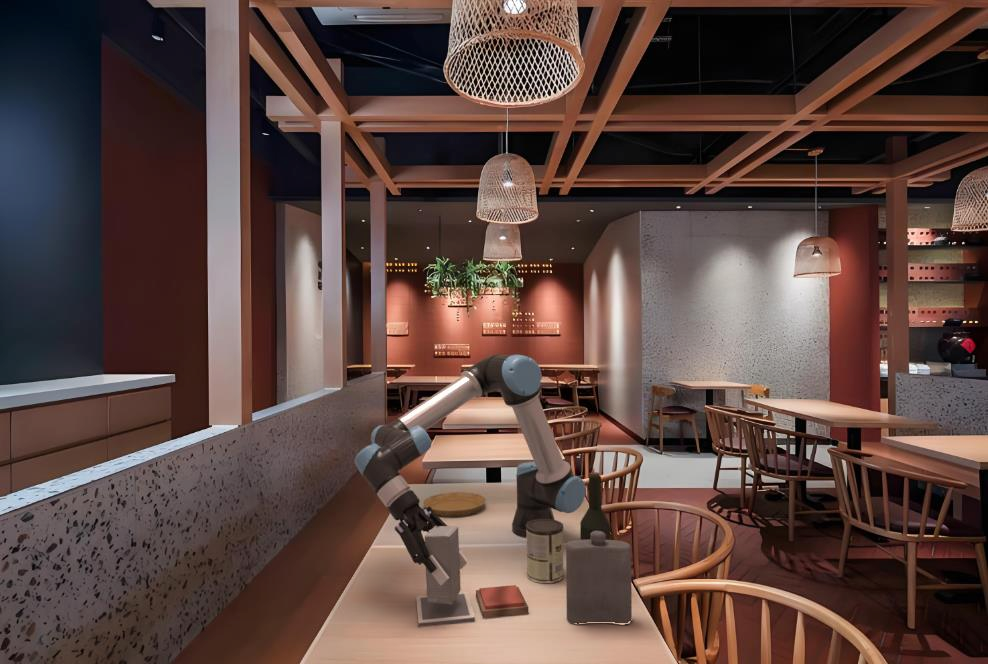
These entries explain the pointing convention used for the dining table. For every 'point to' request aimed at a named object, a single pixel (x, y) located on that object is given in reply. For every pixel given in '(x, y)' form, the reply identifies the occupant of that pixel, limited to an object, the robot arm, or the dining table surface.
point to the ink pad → (501, 601)
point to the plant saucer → (455, 503)
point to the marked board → (444, 611)
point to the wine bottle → (594, 511)
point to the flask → (598, 580)
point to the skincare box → (443, 563)
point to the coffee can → (544, 550)
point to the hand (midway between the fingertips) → (455, 573)
